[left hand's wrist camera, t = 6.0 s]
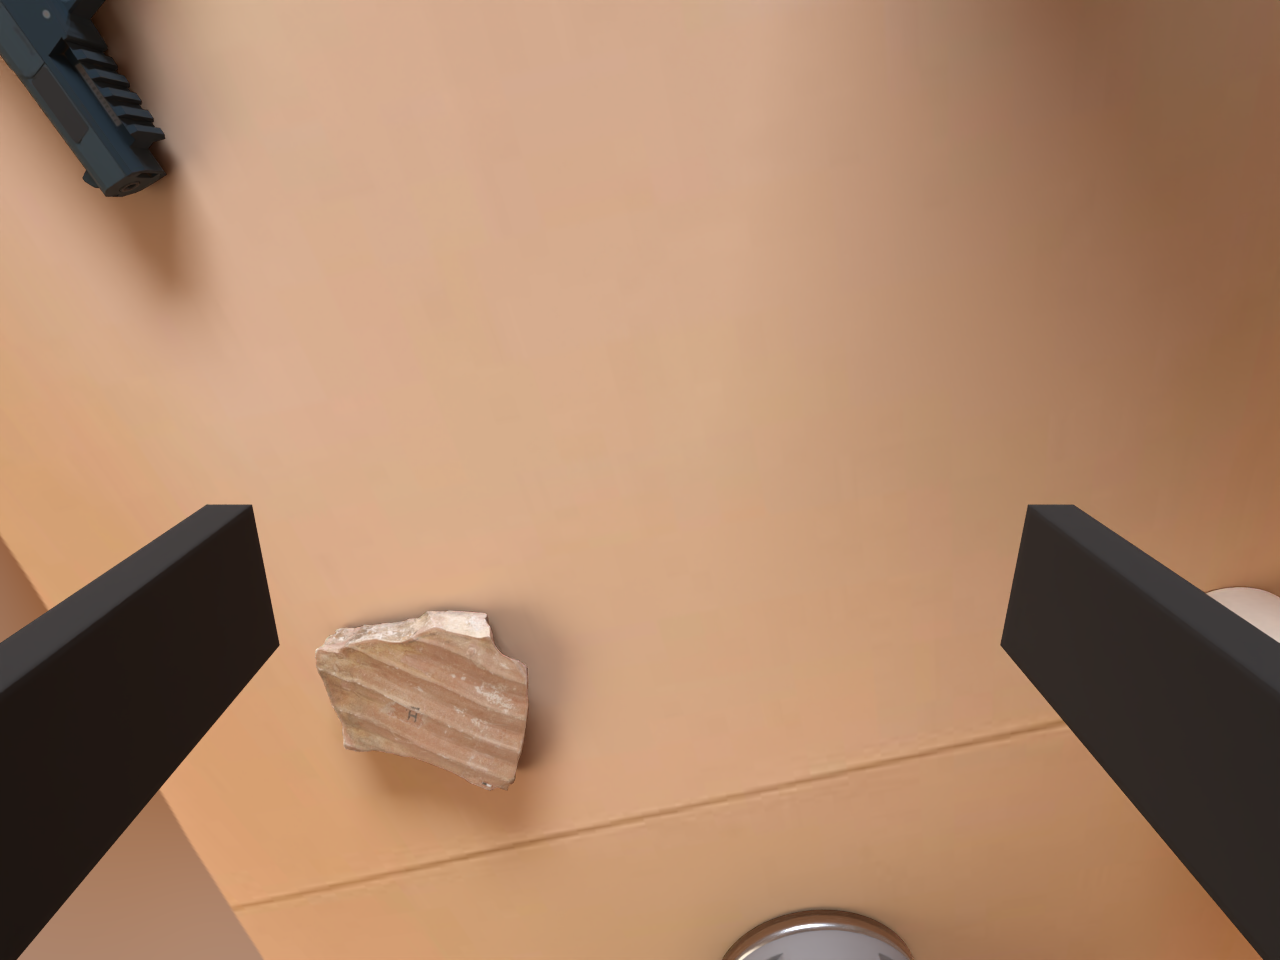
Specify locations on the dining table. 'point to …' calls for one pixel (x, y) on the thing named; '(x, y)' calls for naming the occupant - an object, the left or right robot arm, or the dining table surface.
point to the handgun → (81, 91)
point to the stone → (430, 694)
